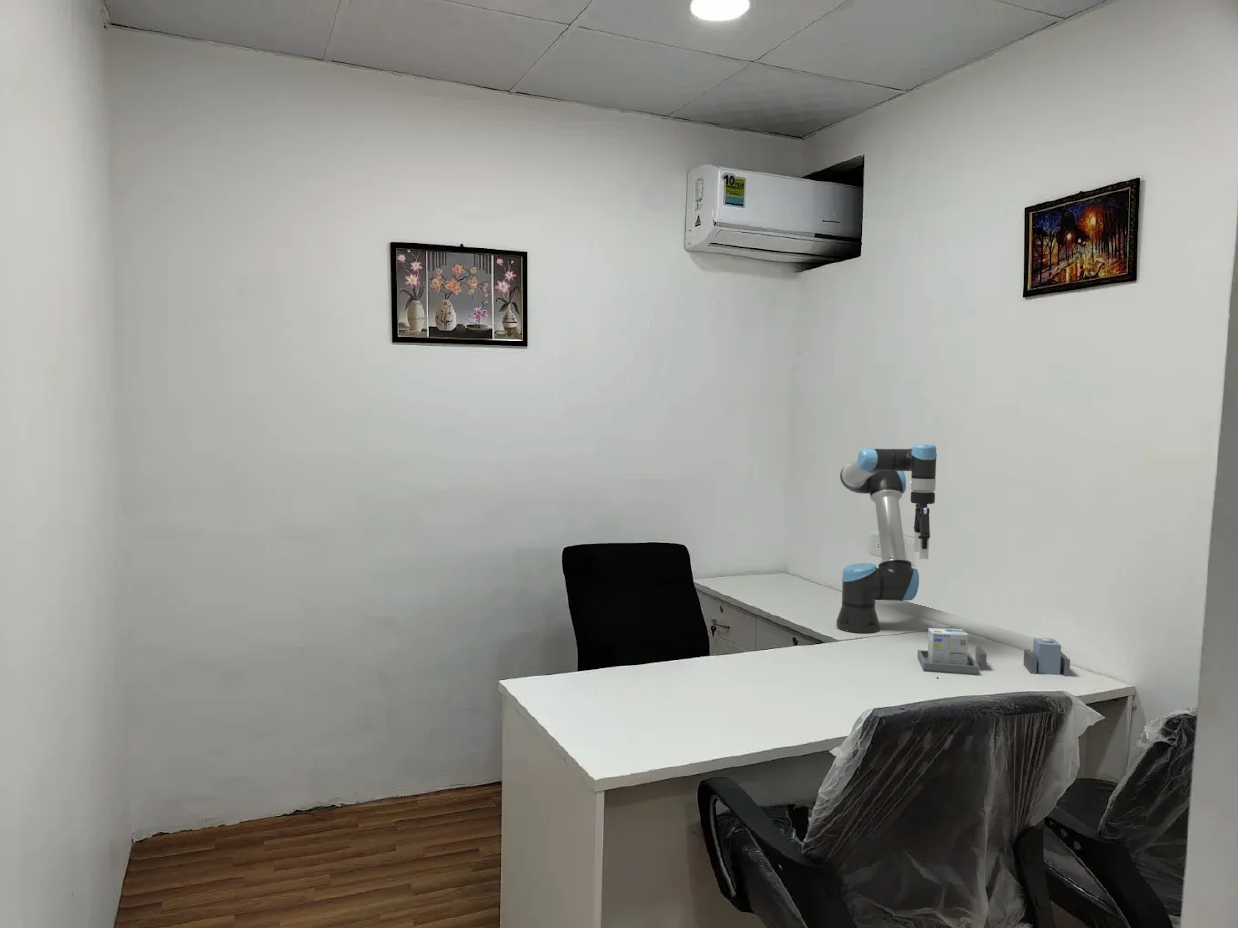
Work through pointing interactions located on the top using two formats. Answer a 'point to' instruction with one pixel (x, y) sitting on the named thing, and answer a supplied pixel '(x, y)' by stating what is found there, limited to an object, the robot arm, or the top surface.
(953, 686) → the top surface
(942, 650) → the light bulb box
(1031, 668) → the rack
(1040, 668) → the cartridge
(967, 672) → the tray
